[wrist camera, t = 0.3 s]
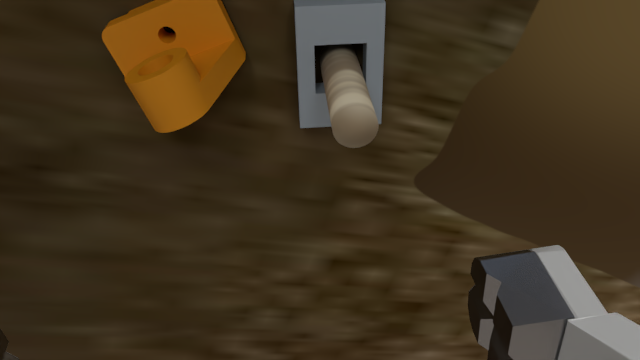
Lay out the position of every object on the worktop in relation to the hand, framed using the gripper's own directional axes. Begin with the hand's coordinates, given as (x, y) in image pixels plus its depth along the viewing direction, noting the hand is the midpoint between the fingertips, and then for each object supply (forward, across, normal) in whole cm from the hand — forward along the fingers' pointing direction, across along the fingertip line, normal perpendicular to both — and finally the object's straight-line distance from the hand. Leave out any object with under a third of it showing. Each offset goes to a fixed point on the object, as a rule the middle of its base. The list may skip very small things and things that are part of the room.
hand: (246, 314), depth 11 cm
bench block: (+46, -8, +17) cm, 50 cm away
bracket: (+47, +7, +14) cm, 50 cm away
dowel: (+46, -8, +17) cm, 50 cm away
